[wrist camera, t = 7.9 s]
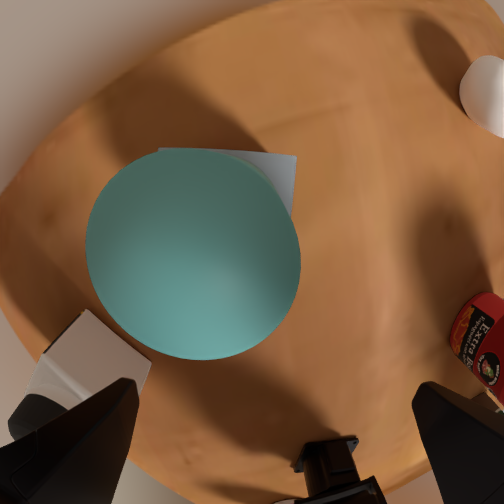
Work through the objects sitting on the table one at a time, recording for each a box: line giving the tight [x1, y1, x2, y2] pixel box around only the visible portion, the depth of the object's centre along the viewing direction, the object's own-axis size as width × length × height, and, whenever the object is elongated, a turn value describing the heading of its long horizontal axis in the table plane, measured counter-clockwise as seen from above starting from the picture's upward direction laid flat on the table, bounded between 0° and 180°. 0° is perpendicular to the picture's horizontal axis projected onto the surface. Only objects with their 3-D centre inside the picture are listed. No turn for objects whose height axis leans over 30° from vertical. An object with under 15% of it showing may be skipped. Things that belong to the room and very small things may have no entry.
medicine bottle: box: [8, 309, 152, 441], centre depth 15 cm, size 7×7×12 cm
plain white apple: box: [459, 55, 504, 138], centre depth 12 cm, size 7×7×8 cm
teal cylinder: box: [86, 148, 301, 360], centre depth 8 cm, size 4×4×5 cm
